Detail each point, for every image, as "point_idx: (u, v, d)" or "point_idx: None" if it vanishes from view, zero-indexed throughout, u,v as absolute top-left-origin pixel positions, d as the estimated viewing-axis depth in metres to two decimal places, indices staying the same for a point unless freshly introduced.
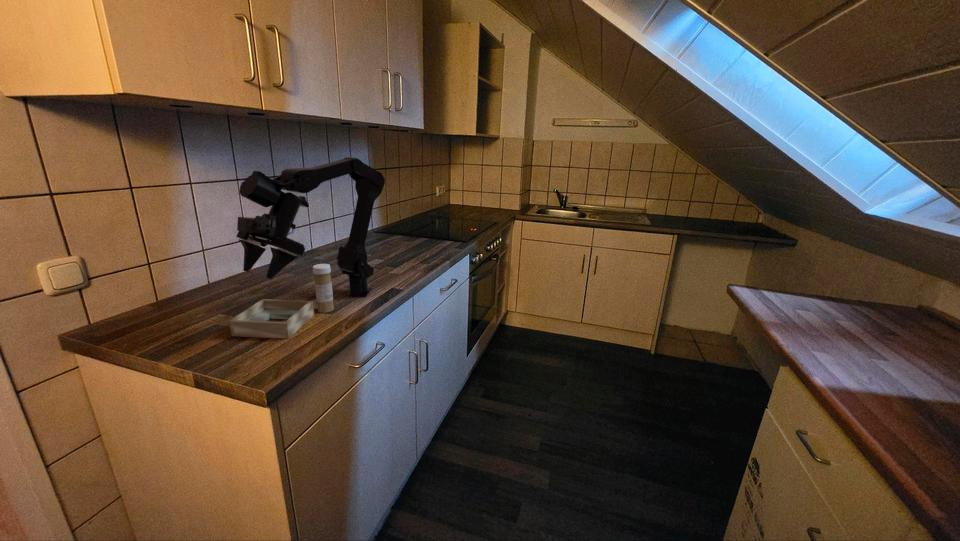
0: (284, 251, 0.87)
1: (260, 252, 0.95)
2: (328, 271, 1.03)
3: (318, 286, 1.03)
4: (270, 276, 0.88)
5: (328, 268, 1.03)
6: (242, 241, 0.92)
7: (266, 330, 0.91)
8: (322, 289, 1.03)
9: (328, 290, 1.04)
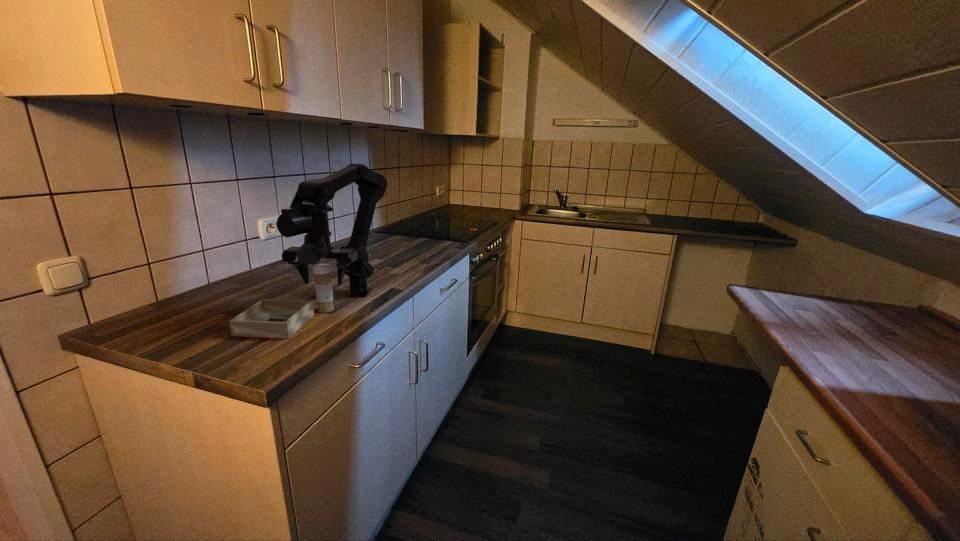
0: None
1: None
2: (328, 271, 1.03)
3: (318, 286, 1.03)
4: (340, 283, 1.05)
5: (328, 268, 1.03)
6: (294, 264, 1.00)
7: (266, 330, 0.91)
8: (322, 289, 1.03)
9: (328, 290, 1.04)
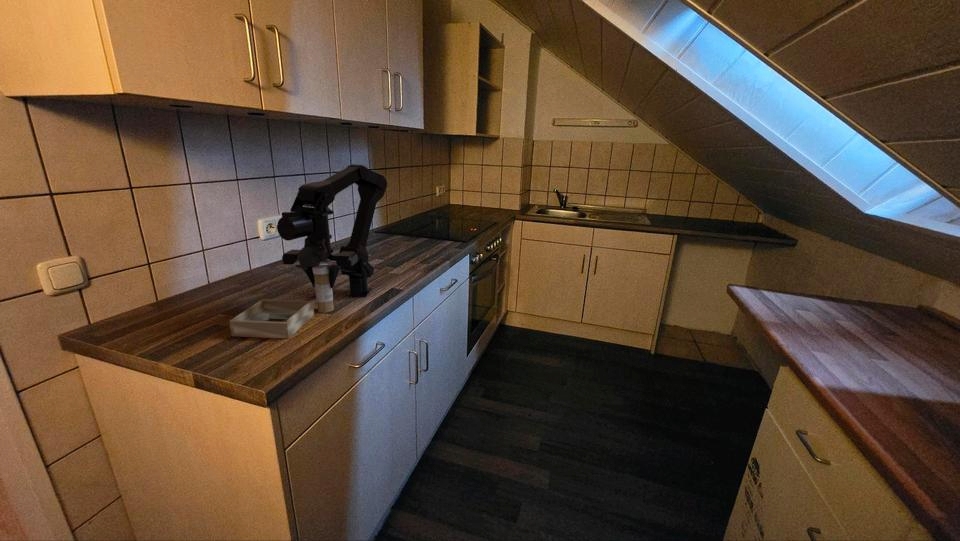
0: None
1: None
2: (328, 271, 1.03)
3: (318, 286, 1.03)
4: (333, 285, 1.05)
5: None
6: (303, 267, 1.00)
7: (266, 330, 0.91)
8: (322, 289, 1.03)
9: (328, 290, 1.04)
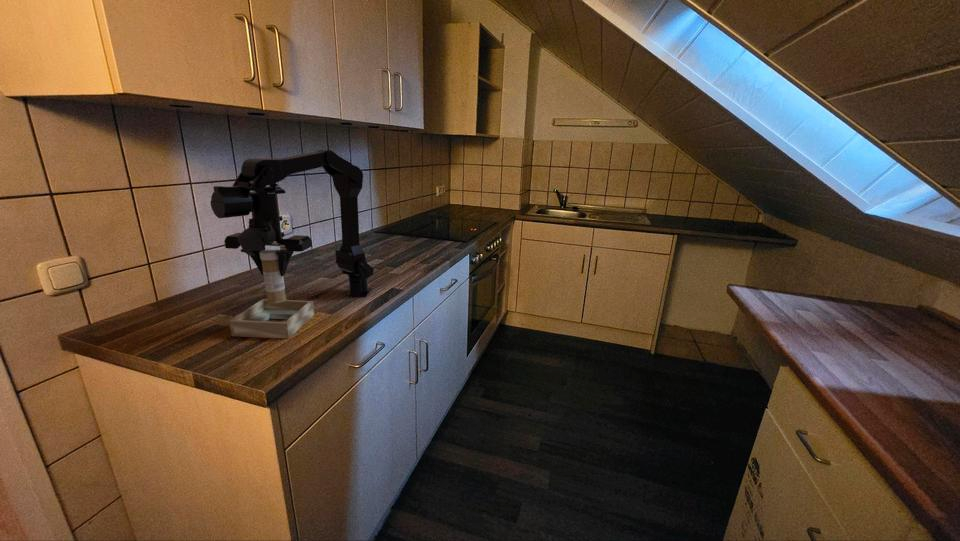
0: (290, 250, 0.91)
1: None
2: (277, 257, 0.92)
3: (266, 274, 0.92)
4: (283, 273, 0.94)
5: None
6: (248, 251, 0.90)
7: (266, 330, 0.91)
8: (271, 277, 0.92)
9: (278, 279, 0.93)
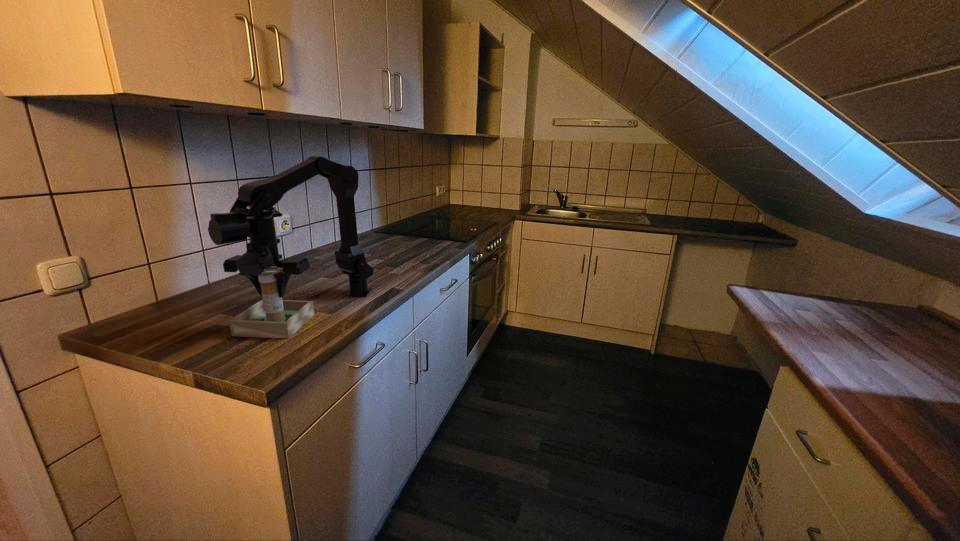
0: None
1: None
2: (275, 279, 0.93)
3: (265, 296, 0.93)
4: (282, 294, 0.95)
5: None
6: (246, 275, 0.91)
7: (266, 330, 0.91)
8: (269, 299, 0.93)
9: (276, 300, 0.94)
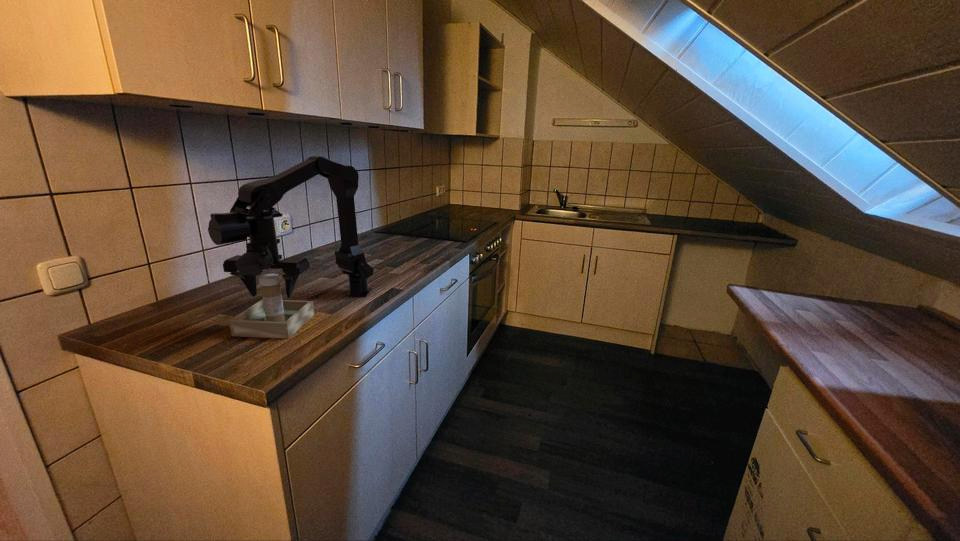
0: None
1: None
2: (276, 282, 0.93)
3: (266, 299, 0.93)
4: (290, 295, 0.95)
5: (276, 279, 0.93)
6: (237, 274, 0.91)
7: (266, 330, 0.91)
8: (270, 302, 0.94)
9: (277, 303, 0.95)
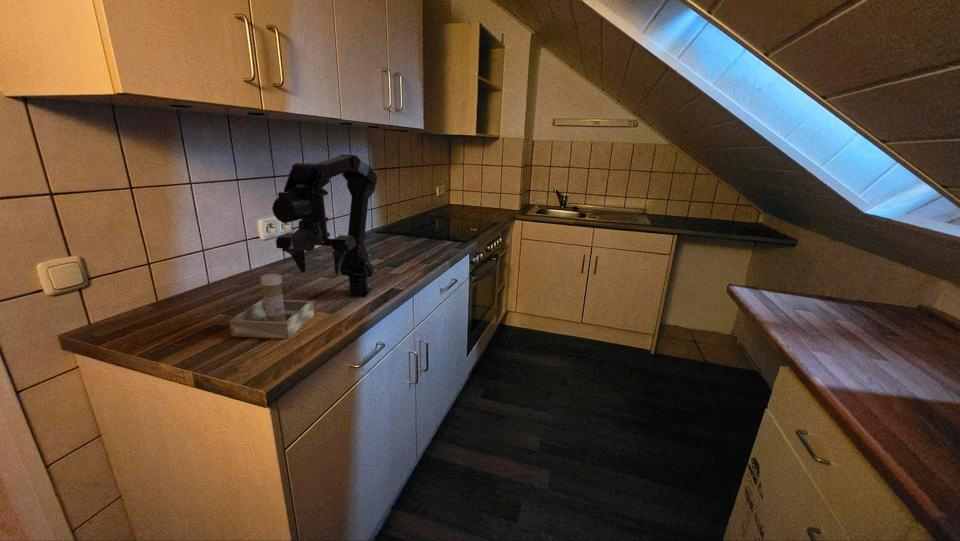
0: (345, 250, 0.96)
1: None
2: (278, 282, 0.93)
3: (267, 299, 0.93)
4: (338, 271, 0.99)
5: (278, 279, 0.93)
6: (289, 251, 0.95)
7: (266, 330, 0.91)
8: (271, 302, 0.94)
9: (278, 303, 0.95)
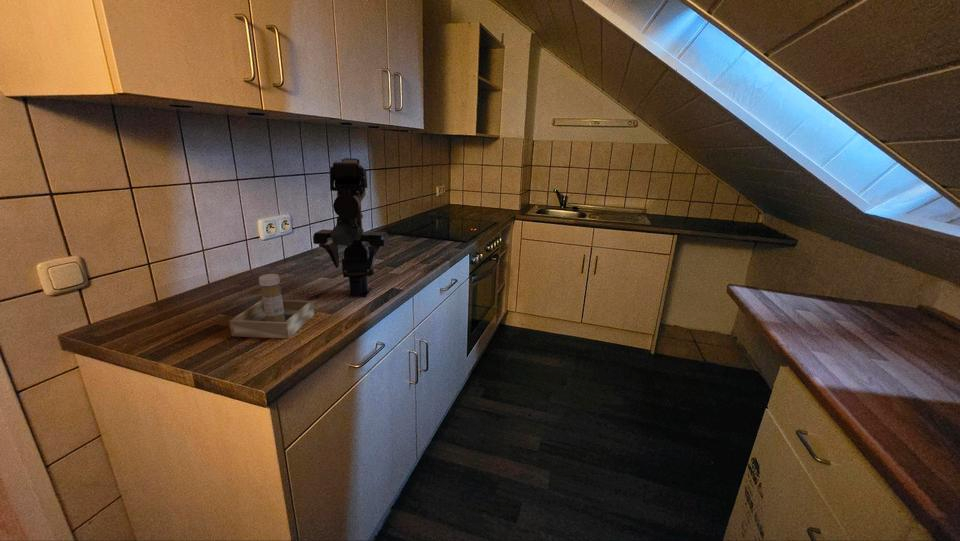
0: (380, 246, 1.00)
1: (336, 246, 1.03)
2: (277, 282, 0.93)
3: (266, 299, 0.93)
4: (371, 266, 1.03)
5: (276, 279, 0.93)
6: (325, 246, 0.98)
7: (266, 330, 0.91)
8: (270, 302, 0.94)
9: (277, 303, 0.95)
